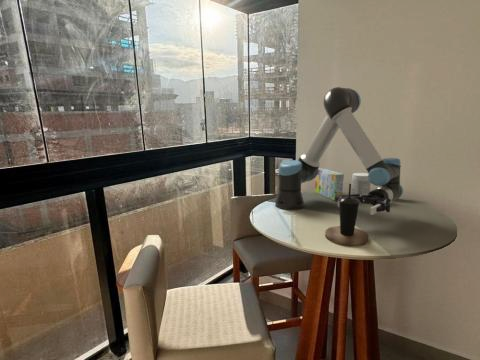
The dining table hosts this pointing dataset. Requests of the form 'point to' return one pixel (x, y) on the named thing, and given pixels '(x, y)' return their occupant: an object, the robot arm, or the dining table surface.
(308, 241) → the dining table surface
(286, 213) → the dining table surface
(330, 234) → the coaster board
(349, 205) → the drinking cup
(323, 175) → the snack box
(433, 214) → the dining table surface
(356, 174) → the supplement tub
